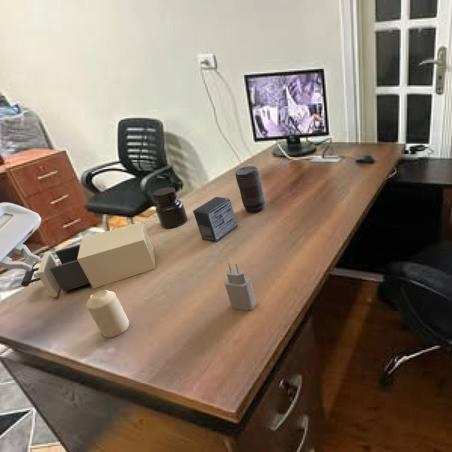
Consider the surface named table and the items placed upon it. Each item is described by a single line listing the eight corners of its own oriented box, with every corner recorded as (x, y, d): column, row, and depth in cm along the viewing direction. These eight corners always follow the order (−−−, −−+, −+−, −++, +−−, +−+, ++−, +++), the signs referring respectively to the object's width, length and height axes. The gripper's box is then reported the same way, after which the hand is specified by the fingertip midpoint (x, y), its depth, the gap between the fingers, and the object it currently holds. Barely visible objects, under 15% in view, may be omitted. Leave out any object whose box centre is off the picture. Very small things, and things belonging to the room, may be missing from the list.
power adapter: (251, 311, 80) (239, 268, 74) (230, 308, 81) (217, 266, 75) (257, 302, 82) (246, 260, 76) (237, 299, 84) (225, 258, 78)
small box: (223, 223, 119) (215, 195, 114) (238, 226, 116) (231, 198, 111) (200, 239, 111) (191, 210, 106) (216, 242, 108) (207, 212, 103)
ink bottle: (187, 213, 128) (177, 183, 123) (190, 223, 121) (180, 191, 116) (159, 221, 125) (148, 190, 119) (160, 231, 118) (148, 199, 112)
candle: (122, 337, 76) (103, 302, 71) (97, 338, 76) (77, 304, 71) (134, 318, 81) (117, 284, 76) (111, 320, 81) (92, 287, 76)
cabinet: (93, 288, 93) (77, 259, 88) (96, 265, 103) (81, 238, 98) (156, 268, 99) (144, 239, 94) (152, 248, 109) (141, 221, 104)
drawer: (29, 305, 88) (12, 280, 84) (38, 281, 96) (23, 258, 93) (115, 277, 95) (103, 253, 91) (115, 258, 104) (104, 235, 100)
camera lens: (239, 210, 127) (229, 171, 120) (256, 202, 132) (248, 164, 125) (253, 216, 122) (244, 175, 115) (270, 207, 127) (263, 168, 120)
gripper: (-99, 267, 58) (-2, 301, 63) (-5, 190, 72) (68, 222, 78) (-96, 283, 61) (-4, 314, 67) (-6, 207, 76) (63, 237, 81)
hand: (35, 264), depth 72 cm, fingers closed
